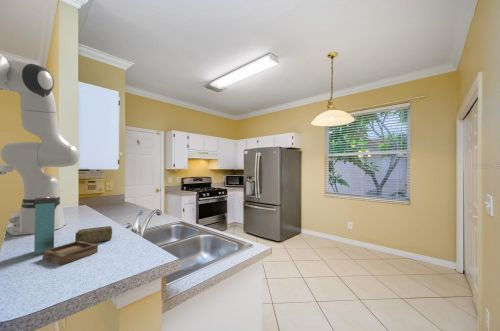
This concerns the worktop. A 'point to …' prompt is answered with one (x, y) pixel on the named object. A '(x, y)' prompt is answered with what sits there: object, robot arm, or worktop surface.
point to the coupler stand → (69, 252)
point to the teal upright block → (44, 224)
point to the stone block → (94, 234)
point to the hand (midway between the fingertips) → (9, 170)
